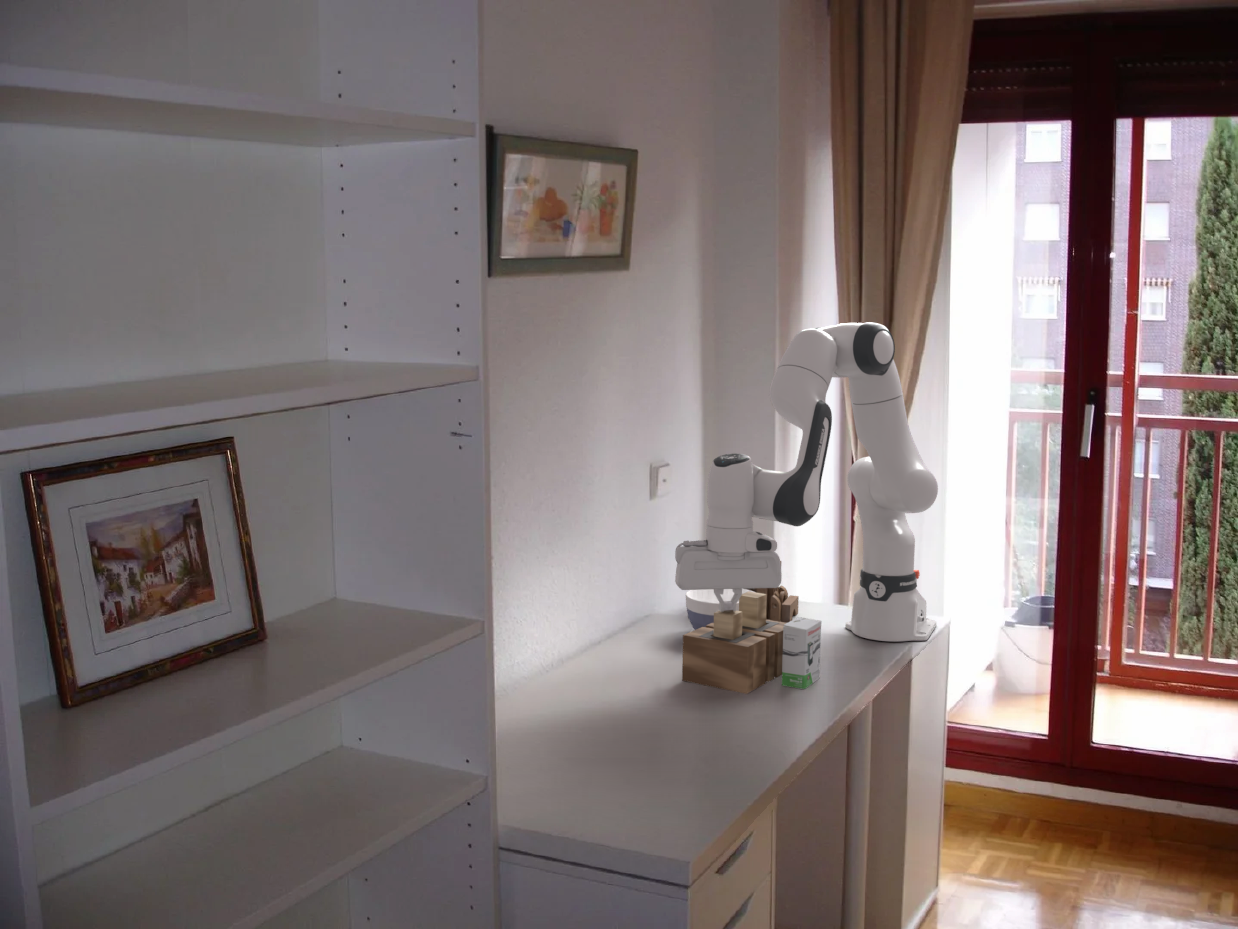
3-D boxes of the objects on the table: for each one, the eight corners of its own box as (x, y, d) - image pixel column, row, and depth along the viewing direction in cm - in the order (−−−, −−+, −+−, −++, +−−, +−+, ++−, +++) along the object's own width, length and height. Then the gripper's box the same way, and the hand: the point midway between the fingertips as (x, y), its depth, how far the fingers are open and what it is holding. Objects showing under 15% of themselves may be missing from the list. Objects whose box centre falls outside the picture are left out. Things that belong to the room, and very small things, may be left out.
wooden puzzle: (799, 611, 290) (802, 534, 288) (787, 626, 277) (789, 545, 274) (710, 603, 298) (711, 528, 295) (693, 617, 284) (694, 538, 281)
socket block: (732, 656, 252) (733, 613, 251) (794, 668, 244) (795, 624, 243) (682, 680, 235) (682, 634, 234) (746, 694, 228) (747, 646, 226)
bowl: (700, 625, 277) (701, 583, 275) (767, 633, 270) (769, 591, 269) (673, 642, 262) (674, 598, 261) (744, 651, 256) (745, 606, 255)
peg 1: (723, 652, 238) (724, 608, 237) (741, 655, 235) (742, 611, 234) (713, 657, 234) (713, 612, 233) (731, 660, 232) (732, 616, 231)
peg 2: (747, 633, 246) (748, 591, 245) (765, 636, 244) (766, 594, 242) (738, 638, 242) (739, 595, 241) (756, 641, 240) (757, 598, 239)
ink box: (804, 690, 230) (806, 629, 229) (780, 686, 233) (781, 625, 231) (820, 678, 238) (822, 619, 236) (796, 674, 240) (798, 615, 239)
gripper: (679, 544, 227) (677, 616, 229) (785, 542, 231) (783, 613, 232) (672, 537, 233) (670, 608, 235) (775, 536, 237) (773, 605, 238)
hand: (727, 611), depth 234 cm, fingers closed
